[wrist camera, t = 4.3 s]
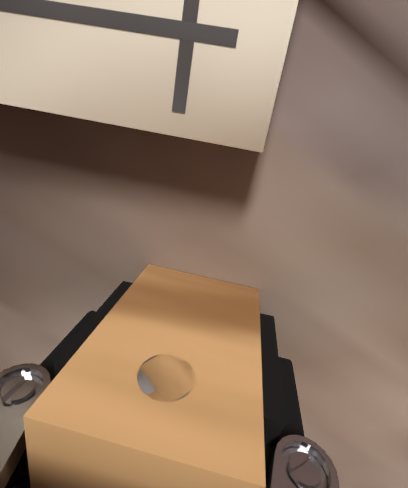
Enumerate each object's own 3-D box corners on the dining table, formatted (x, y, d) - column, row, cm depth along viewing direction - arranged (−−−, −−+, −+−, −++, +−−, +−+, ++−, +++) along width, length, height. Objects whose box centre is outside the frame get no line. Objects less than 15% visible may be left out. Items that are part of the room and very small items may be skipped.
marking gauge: (148, 264, 10) (23, 415, 5) (258, 289, 10) (265, 486, 4) (131, 431, 14) (46, 635, 8) (213, 454, 13) (183, 684, 8)
